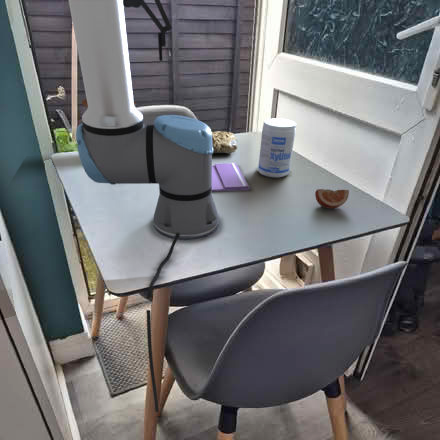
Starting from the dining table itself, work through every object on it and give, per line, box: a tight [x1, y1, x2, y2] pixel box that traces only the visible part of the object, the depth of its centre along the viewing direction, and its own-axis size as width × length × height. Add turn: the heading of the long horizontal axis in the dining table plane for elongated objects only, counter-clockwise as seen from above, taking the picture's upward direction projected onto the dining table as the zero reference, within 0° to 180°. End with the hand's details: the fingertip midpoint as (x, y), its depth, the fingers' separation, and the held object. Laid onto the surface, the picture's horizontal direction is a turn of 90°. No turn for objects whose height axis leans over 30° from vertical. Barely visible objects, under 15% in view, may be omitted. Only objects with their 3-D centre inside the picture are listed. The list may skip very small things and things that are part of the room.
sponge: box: [211, 130, 238, 154], centre depth 128 cm, size 13×8×20 cm
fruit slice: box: [314, 188, 350, 209], centre depth 100 cm, size 8×7×5 cm
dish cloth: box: [212, 162, 250, 193], centre depth 114 cm, size 18×13×1 cm
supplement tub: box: [257, 117, 297, 179], centre depth 115 cm, size 10×10×15 cm
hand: (136, 60), depth 109 cm, fingers open, 13 cm apart
